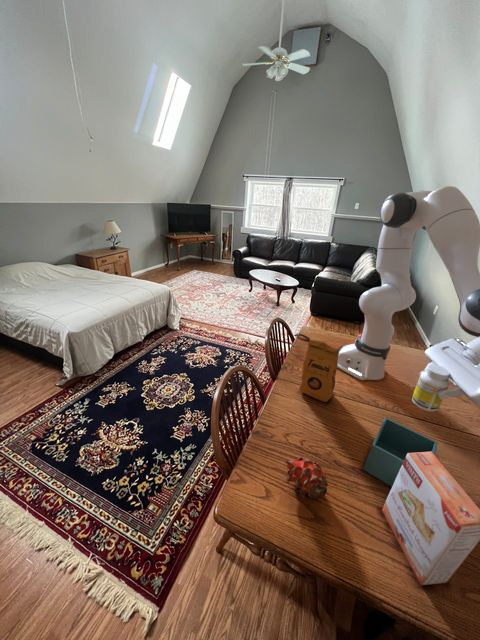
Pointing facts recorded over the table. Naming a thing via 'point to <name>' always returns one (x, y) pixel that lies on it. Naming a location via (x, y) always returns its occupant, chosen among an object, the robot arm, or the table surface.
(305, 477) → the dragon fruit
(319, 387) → the coffee package
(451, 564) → the cracker box
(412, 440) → the trash bin
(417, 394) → the pill bottle
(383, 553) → the table surface
